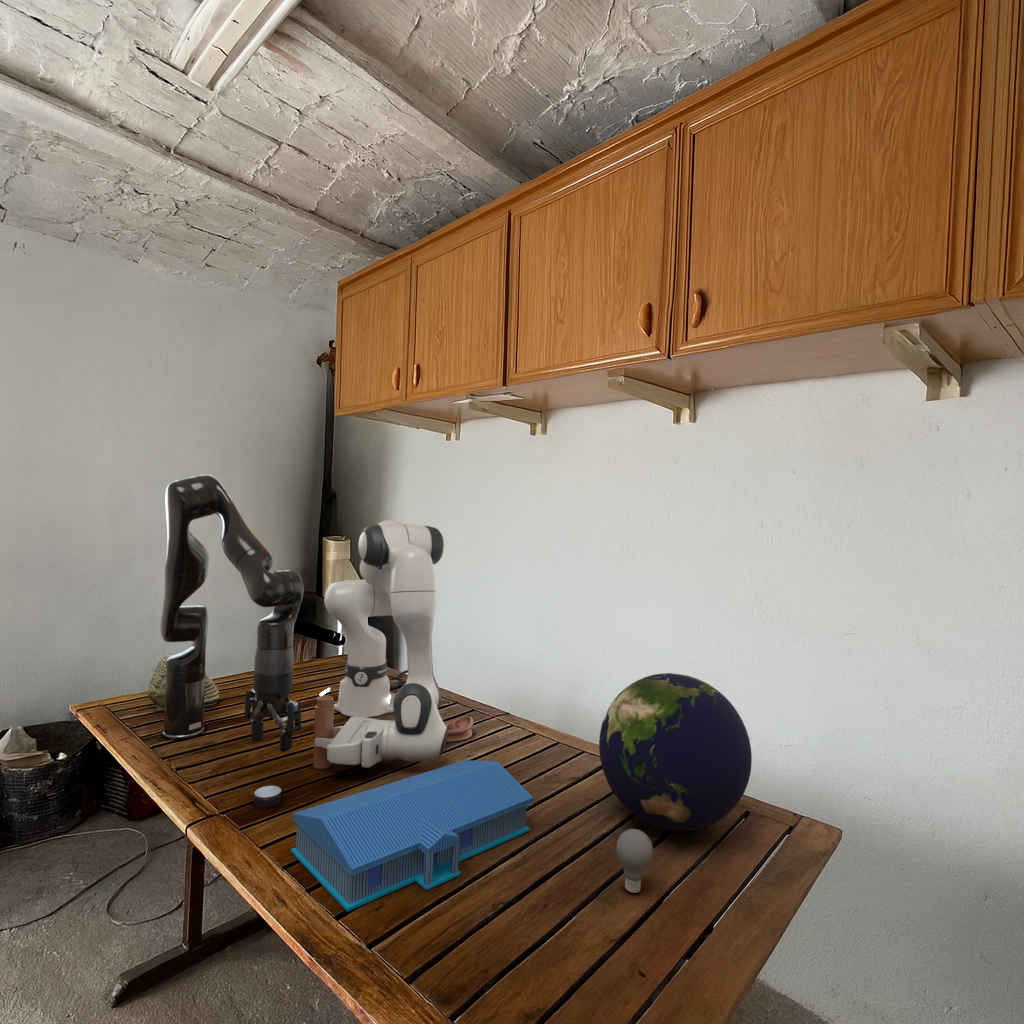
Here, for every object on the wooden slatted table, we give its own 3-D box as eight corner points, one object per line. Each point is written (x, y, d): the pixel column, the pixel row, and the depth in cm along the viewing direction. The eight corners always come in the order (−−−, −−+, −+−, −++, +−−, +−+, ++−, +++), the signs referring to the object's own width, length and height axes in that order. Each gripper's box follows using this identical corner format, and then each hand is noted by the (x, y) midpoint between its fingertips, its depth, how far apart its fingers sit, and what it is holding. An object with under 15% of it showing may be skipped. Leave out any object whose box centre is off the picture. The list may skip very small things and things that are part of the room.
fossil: (144, 707, 182) (145, 655, 182) (212, 696, 194) (213, 647, 194) (151, 716, 175) (153, 662, 175) (221, 703, 188) (223, 653, 188)
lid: (262, 810, 127) (263, 799, 127) (249, 802, 130) (249, 791, 130) (285, 801, 131) (286, 791, 131) (272, 793, 134) (272, 783, 134)
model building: (357, 922, 95) (360, 856, 95) (289, 850, 113) (292, 795, 113) (542, 837, 121) (544, 785, 121) (463, 790, 139) (465, 745, 139)
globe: (578, 839, 121) (585, 683, 120) (614, 778, 149) (620, 651, 148) (744, 881, 110) (753, 709, 109) (749, 806, 137) (756, 669, 137)
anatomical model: (417, 724, 167) (431, 710, 178) (416, 739, 167) (430, 724, 178) (465, 730, 164) (477, 715, 176) (465, 745, 165) (476, 730, 176)
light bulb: (610, 879, 108) (613, 822, 108) (644, 879, 109) (647, 822, 109) (619, 902, 102) (622, 840, 102) (655, 901, 103) (658, 840, 103)
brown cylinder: (329, 760, 152) (332, 693, 152) (333, 767, 148) (336, 699, 148) (311, 762, 150) (313, 695, 150) (314, 770, 146) (317, 701, 146)
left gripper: (235, 665, 130) (232, 743, 131) (283, 678, 123) (280, 760, 124) (265, 658, 137) (263, 731, 137) (312, 670, 130) (309, 748, 130)
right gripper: (387, 711, 159) (333, 708, 160) (367, 742, 139) (305, 739, 139) (386, 736, 159) (332, 733, 160) (366, 771, 139) (304, 767, 139)
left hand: (271, 745), depth 131 cm, fingers open, 8 cm apart
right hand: (319, 736), depth 149 cm, fingers closed on brown cylinder, 4 cm apart
